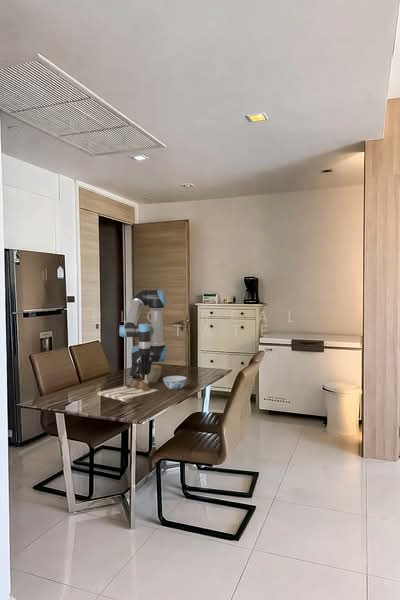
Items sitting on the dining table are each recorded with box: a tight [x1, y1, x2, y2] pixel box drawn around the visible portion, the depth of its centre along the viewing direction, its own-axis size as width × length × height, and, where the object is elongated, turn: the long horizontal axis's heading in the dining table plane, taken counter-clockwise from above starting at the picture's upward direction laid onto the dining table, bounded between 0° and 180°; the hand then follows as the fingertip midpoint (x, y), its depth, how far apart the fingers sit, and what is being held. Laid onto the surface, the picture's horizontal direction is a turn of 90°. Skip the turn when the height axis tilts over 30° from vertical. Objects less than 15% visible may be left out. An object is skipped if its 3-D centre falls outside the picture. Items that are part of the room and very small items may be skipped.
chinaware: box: [162, 375, 188, 390], centre depth 262 cm, size 15×15×8 cm
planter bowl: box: [140, 364, 163, 383], centre depth 287 cm, size 16×16×11 cm
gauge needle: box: [125, 376, 150, 390], centre depth 261 cm, size 19×5×6 cm, turn 51°
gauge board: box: [96, 385, 160, 402], centre depth 254 cm, size 27×27×2 cm
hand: (144, 384), depth 262 cm, fingers closed
